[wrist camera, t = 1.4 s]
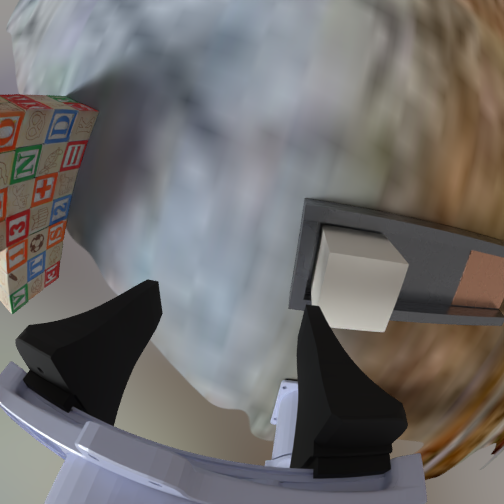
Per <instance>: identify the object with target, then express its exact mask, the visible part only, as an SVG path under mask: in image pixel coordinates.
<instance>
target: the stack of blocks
mask: <svg viewBox="0 0 504 504" xmlns="http://www.w3.org/2000/svg"><path fill="white" fill-rule="evenodd" d="M98 114H99V111H97V110H95V109H93V108H91V107H89V106H87V105H84V104H82V103H79V102H77V101H74V100H72V99H70V98H68V97H66V96H50V95H46V96H45V95H20V94H14V95H0V301H1V302H2V303H3V304H4V305H5V307H6V308H7V309H8V310H9V311H10V312H11V314H13V313H15V312H16V311H17V310H18V309H20V308H21V307H22V306H24V305H25V304H26V303H27V302H28V300H30V299H31V298H33V297H34V296H35V295H36V294H38V293H39V292H41V291H42V290H43V289H44V288H45V287H46V286H48V285H49V284H51V283H52V282H54V281H55V280H56V279H58V278H59V267H60V260H61V255H62V248H63V239H64V234H65V229H66V223H67V216H68V211H69V206H70V202H71V197H72V192H73V188H74V184H75V181H76V177H77V173H78V169H79V167H80V164H81V161H82V158H83V155H84V152H85V149H86V146H87V143H88V139H89V137H90V135H91V132H92V129H93V126H94V124H95V121H96V119H97V116H98Z"/></svg>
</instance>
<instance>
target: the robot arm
mask: <svg viewBox="0 0 504 504" xmlns="http://www.w3.org/2000/svg"><path fill="white" fill-rule="evenodd" d="M162 314H163V313H162V306H161V299H160V292H159V284H158V281H153V280H146V281H144V282H142V283H140V284H138V285H136V286H135V287H133V288H131V289H129V290H128V291H126V292H124V293H122V294H121V295H119V296H117V297H116V298H114V299H112V300H110V301H108V302H106V303H104V304H102V305H101V306H98V307H96V308H94V309H91V310H89V311H87V312H84V313H81V314H79V315H75V316H72V317H69V318H66V319H62V320H58V321H54V322H48V323H42V324H34V325H29V326H28V327H27V328H26V329H25V330H24V331H23V332H22V333H21V334H20V335H19V336H18V338H17V339H16V347H17V349H18V351H19V353H20V355H21V356H22V358H23V360H24V361H25V363H26V365H27V366H28V368H29V369H30V370H29V372H28V373H26V372H25V371H24V370H23V369H22V368H20V367H19V366H18V365H16V364H15V363H14V362H12V361H11V362H10V363H9V364H8V365H7V366H6V368H5V369H4V370H3V371H2V373H1V374H0V407H1V408H2V409H3V410H4V411H5V413H6V414H7V415H8V416H9V417H10V418H11V419H12V420H13V421H15V422H16V423H17V424H18V425H20V427H22V428H23V429H24V430H25V431H26V432H28V433H29V434H30V435H32V436H33V437H34V438H35V439H37V440H38V441H39V442H40V443H42V444H43V445H45V446H46V447H47V448H49V449H50V450H51V451H53V452H54V453H56V454H57V455H58V456H60V457H61V458H63V459H64V460H65V462H64V463H63V465H62V467H61V469H60V471H59V473H58V475H57V477H56V479H55V481H54V483H53V485H52V488H51V490H50V492H49V494H48V496H47V498H46V500H45V503H44V504H425V503H426V502H427V495H426V486H425V478H424V471H423V465H422V459H421V454H420V453H417V454H412V455H406V456H400V457H396V458H393V459H391V460H390V455H389V453H391V452H392V443H393V442H394V441H395V440H396V439H397V438H398V437H400V436H401V435H402V434H403V432H404V431H405V430H406V429H407V426H408V423H407V419H406V414H405V410H404V408H403V404H402V403H401V402H399V401H398V400H396V399H395V398H393V397H392V396H390V395H389V394H388V393H386V392H385V391H384V390H382V389H381V388H380V387H379V386H377V385H376V384H375V383H374V382H373V381H372V380H371V379H369V378H368V377H367V376H366V375H365V374H364V373H363V372H362V371H361V370H360V368H359V367H358V366H357V365H356V364H355V363H354V362H353V360H352V359H351V358H350V357H349V355H348V354H347V353H346V351H345V350H344V348H343V347H342V346H341V344H340V343H339V341H338V339H337V338H336V336H335V334H334V333H333V331H332V329H331V328H330V326H329V324H328V322H327V320H326V318H325V316H324V314H323V312H322V310H321V308H320V307H319V306H315V305H307V304H306V306H305V311H304V315H303V319H302V323H301V327H300V331H299V334H298V343H297V374H298V381H291V380H283V381H282V382H281V385H280V389H279V393H278V397H277V400H276V404H275V407H274V411H273V415H272V418H271V423H272V424H275V425H277V427H276V434H275V441H274V448H273V454H272V460H266V463H265V466H260V465H252V464H245V463H239V462H233V461H227V460H222V459H217V458H212V457H207V456H203V455H198V454H194V453H191V452H187V451H183V450H179V449H176V448H173V447H169V446H166V445H162V444H159V443H157V442H154V441H151V440H148V439H145V438H142V437H139V436H137V435H134V434H131V433H128V432H126V431H124V430H121V429H119V428H117V427H114V423H115V419H116V415H117V411H118V408H119V405H120V402H121V398H122V395H123V392H124V390H125V387H126V385H127V382H128V380H129V377H130V375H131V372H132V370H133V368H134V366H135V364H136V362H137V360H138V358H139V357H140V355H141V353H142V352H143V350H144V348H145V347H146V345H147V343H148V342H149V340H150V338H151V337H152V335H153V333H154V332H155V330H156V328H157V326H158V323H159V321H160V318H161V316H162ZM284 386H286V387H284Z"/></svg>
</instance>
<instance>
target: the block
mask: <svg viewBox="0 0 504 504" xmlns="http://www.w3.org/2000/svg"><path fill="white" fill-rule="evenodd" d="M408 266H409V264H408V263H407V261H406V260H405V259H404V258H403V256H402V255H401V254H400V253H399V252H398V250H397V249H396V248H395V247H394V246H393V244H392V243H391V242H390V241H389V240H388V239H387V237H386V236H385V235H384V234H378V233H372V232H367V231H361V230H355V229H349V228H342V227H336V226H330V225H323V224H322V227H321V233H320V238H319V244H318V249H317V255H316V260H315V265H314V270H313V275H312V280H311V299H312V305H315V306H319V307H320V308H321V310H322V312H323V314H324V316H325V318H326V320H327V322H328V324H329V326H330V327H333V328H342V329H352V330H363V331H375V332H384V331H385V329H386V326H387V324H388V322H389V319H390V317H391V314H392V312H393V309H394V306H395V304H396V301H397V298H398V296H399V293H400V290H401V287H402V284H403V281H404V278H405V275H406V272H407V269H408Z"/></svg>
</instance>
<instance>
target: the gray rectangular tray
mask: <svg viewBox="0 0 504 504" xmlns="http://www.w3.org/2000/svg"><path fill="white" fill-rule="evenodd" d="M322 224H323V225H330V226H336V227H342V228H349V229H355V230H361V231H367V232H372V233H378V234H384V235H385V236H386V237H387V239H388V240H389V241H390V242H391V243H392V244H393V246H394V247H395V248H396V249H397V250H398V252H399V253H400V254H401V255H402V256H403V258H404V259H405V260H406V261H407V263H408V264H409V266H408V269H407V272H406V275H405V278H404V281H403V284H402V287H401V290H400V293H399V296H398V298H397V301H396V304H395V306H394V309H393V312H392V314H391V317H390V319H389V320H393V321H406V322H420V323H436V324H457V325H494V326H502V324H503V322H504V315H503V314H502V313H501V311H500V310H499V308H500V305H501V303H502V301H503V299H504V241H501V240H498V239H495V238H491V237H488V236H484V235H481V234H477V233H473V232H470V231H466V230H462V229H458V228H454V227H450V226H446V225H442V224H438V223H434V222H430V221H425V220H421V219H416V218H412V217H407V216H403V215H398V214H393V213H388V212H383V211H378V210H373V209H367V208H362V207H356V206H351V205H345V204H339V203H333V202H327V201H320V200H314V199H307V198H305V200H304V207H303V214H302V221H301V228H300V234H299V241H298V247H297V254H296V260H295V266H294V272H293V278H292V283H291V289H290V297H289V308H288V309H295V310H302V311H305V306H306V304H307V305H312V299H311V280H312V275H313V270H314V265H315V260H316V255H317V249H318V244H319V238H320V233H321V227H322Z"/></svg>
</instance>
